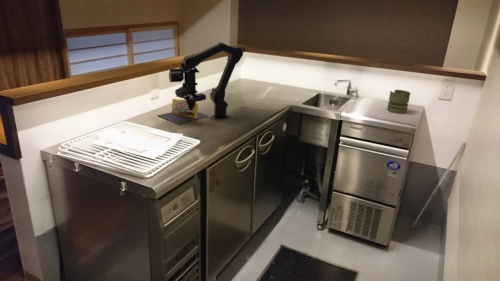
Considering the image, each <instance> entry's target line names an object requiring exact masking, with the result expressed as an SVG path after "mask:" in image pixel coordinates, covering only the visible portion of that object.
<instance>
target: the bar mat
mask: <svg viewBox="0 0 500 281" xmlns="http://www.w3.org/2000/svg"><path fill="white" fill-rule="evenodd" d="M156 115H157V117H159V118H161V119H164V120H166V121H168V122H171V123H173V124H175V125H178V126H179V125H182V124H183V125H184V124H186V123H191V122H195V121H198V120H201V119H202V120H203V119H205V118H209V115H208V114H205V113H202V112H200V111H198V113H197V118H191V117H187V116H182V115H178V114H173V113H172V111H171V112H165V113H161V114H156Z"/></svg>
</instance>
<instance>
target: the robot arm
mask: <svg viewBox="0 0 500 281" xmlns="http://www.w3.org/2000/svg"><path fill="white" fill-rule="evenodd" d="M221 52H224V53H227V61H226V64H225V67H224V69H223V71H222V74H221V77H220V79H219V82H218V84H217V86H216V87H215V88H214V87H212V89H211V92H210V93H209V95H210V96H209V98H210V101H211V102H212V103H213V105H214V108H213V109H214V110H213V114H214V115H212V117H213V118H215V119H219V120H222V119H226V118H228V117H229V115H227V108H228V106H229V104H228V103H227V102H226V101H225V98H226V89H227V87H228V84H229V81H230V79H231V77H232V74H233V72H234V70H235V67H236V65H237V64H238V63H239V62H240V61H241V59H242V57H243V56H244V51H243V48H241V47H239V46H236V45H233V46H230V45H227V44H226V43H224V42H220V41H219V42H218V43H217V44H214V45H212V46H211V47H207V48H205V49H203V50H202V51H200V52H198V53H191V54H189V55H186V56H184V57H183V59H182V63H181V64H180V65H179V68H172V67H171V68H169V72H168V78H169V83H180V82H181V84H182V86H180V87H179V88H176V89H175V90H174V94H175V96H176V97H177V98H179V99H183V100H184V101H186V102H187V104H188V107H189V110H192V109H193V107H194V105H195V103H197V102H201V101H206V100H207V95H206V94H204V93H202V92H199V93H198V90H197V86H198V82H196V80H197V79H196V78H197V77H196V74H197V73H198V74H199V73H200V70H198V68H197V67H198V66H199V65H200V64H201V63H203V61H206V60H207V59H210V58H211V57H212V56H213V57H214V56H215V55H218V54H219V53H221ZM182 82H183V83H182Z"/></svg>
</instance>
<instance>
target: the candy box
mask: <svg viewBox="0 0 500 281" xmlns="http://www.w3.org/2000/svg"><path fill="white" fill-rule="evenodd" d="M198 110H199V103H198V102H196V103H195V105H194V107H193V109H192V110H189V107H188V104H187V102H186V100H185V99H180V98H179V99H178V98H172V105H171V112H172V113H173V114H178V115H182V116H187V117H191V118H197V113H198V112H199V111H198Z"/></svg>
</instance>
